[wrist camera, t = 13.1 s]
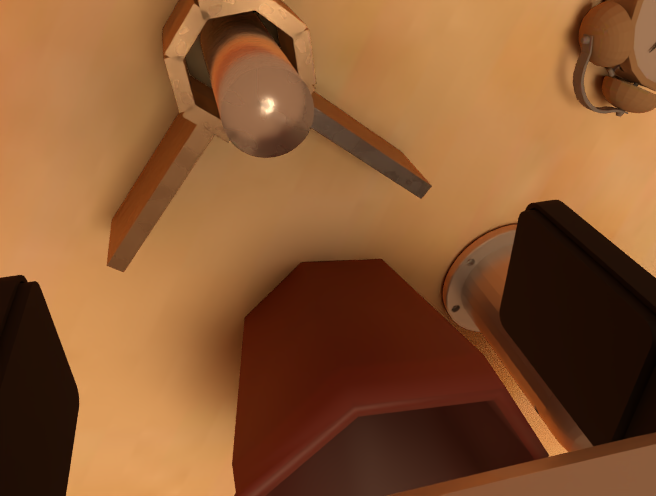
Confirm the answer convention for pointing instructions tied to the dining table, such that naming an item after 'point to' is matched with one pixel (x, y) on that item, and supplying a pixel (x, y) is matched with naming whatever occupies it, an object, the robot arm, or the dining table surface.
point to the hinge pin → (255, 86)
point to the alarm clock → (620, 54)
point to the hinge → (204, 122)
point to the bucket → (365, 391)
